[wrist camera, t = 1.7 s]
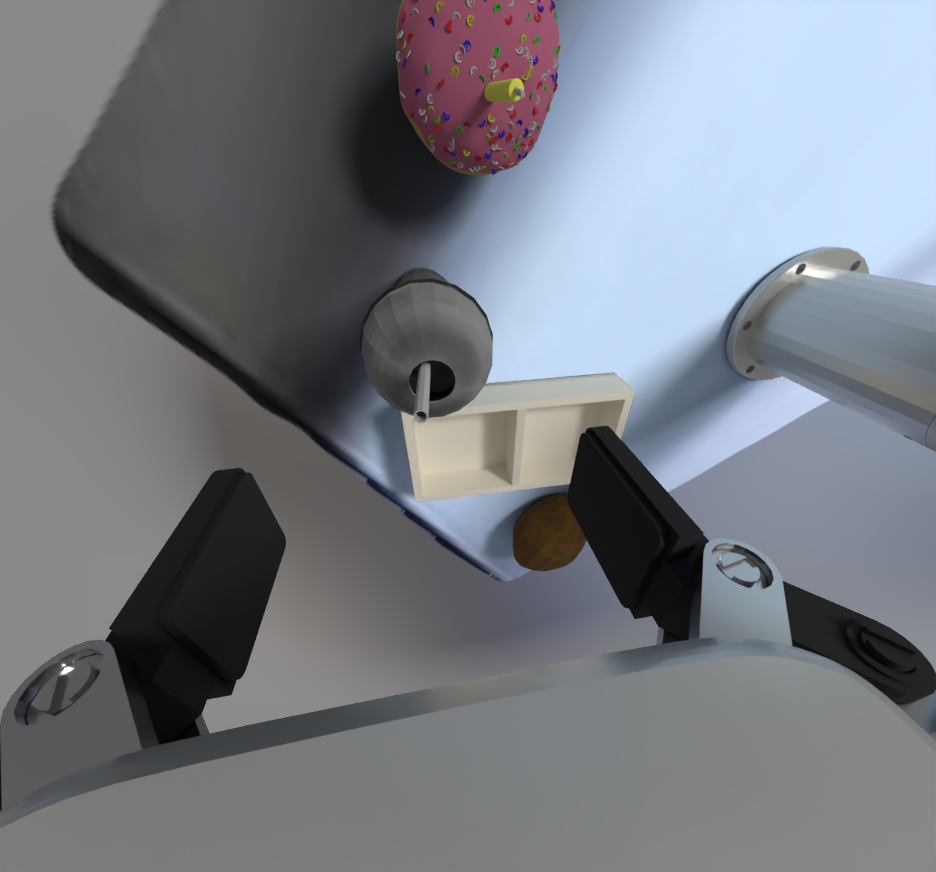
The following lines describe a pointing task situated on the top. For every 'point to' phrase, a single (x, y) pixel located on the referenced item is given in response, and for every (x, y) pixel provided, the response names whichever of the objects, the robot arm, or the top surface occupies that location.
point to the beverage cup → (426, 345)
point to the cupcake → (477, 77)
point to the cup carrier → (512, 435)
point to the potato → (547, 535)
